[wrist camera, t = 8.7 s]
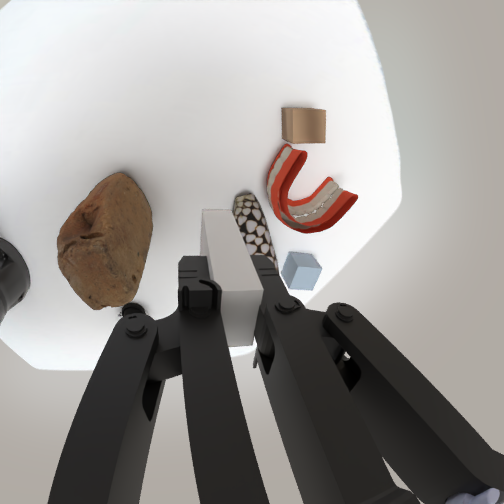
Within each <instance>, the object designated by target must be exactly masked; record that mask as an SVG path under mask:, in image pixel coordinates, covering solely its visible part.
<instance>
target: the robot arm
mask: <svg viewBox="0 0 504 504" xmlns="http://www.w3.org/2000/svg"><path fill="white" fill-rule="evenodd" d="M178 284H179V288H178V307H177V309H176V311H175V312H174V313H173V314H171V315H170V316H168V317H165V318H163V319H159V320H154V319H153V318H151V317H150V316H148V315H145V314H143V313H133V314H129V315H126V316H124V317H123V318H121V319H120V320H119V321H118V322H117V324H116V325H115V327H114V329H113V331H112V333H111V335H110V337H109V339H108V341H107V343H106V345H105V348H104V350H103V352H102V354H101V356H100V358H99V360H98V362H97V365H96V367H95V369H94V371H93V374H92V376H91V378H90V380H89V383H88V385H87V387H86V390H85V392H84V394H83V397H82V399H81V402H80V404H79V407H78V409H77V412H76V414H75V417H74V419H73V422H72V425H71V428H70V430H69V433H68V436H67V439H66V442H65V445H64V448H63V451H62V454H61V457H60V460H59V463H58V467H57V470H56V473H55V477H54V480H53V484H52V487H51V491H50V496H49V500H48V504H139V500H140V494H141V489H142V483H143V478H144V473H145V468H146V463H147V458H148V453H149V449H150V444H151V439H152V435H153V430H154V426H155V422H156V417H157V413H158V409H159V405H160V401H161V397H162V393H163V389H164V385H165V381H166V379H169V378H172V377H175V376H178V375H181V374H182V377H183V389H184V399H185V409H186V418H187V425H188V433H189V441H190V448H191V454H192V460H193V467H194V473H195V478H196V484H197V489H198V494H199V499H200V504H270V503H269V500H268V497H267V494H266V490H265V487H264V484H263V480H262V477H261V474H260V470H259V467H258V463H257V460H256V456H255V453H254V449H253V445H252V442H251V439H250V434H249V431H248V427H247V423H246V419H245V415H244V411H243V407H242V404H241V399H240V395H239V391H238V387H237V383H236V379H235V374H234V370H233V365H232V361H231V357H230V352H229V348H228V347H238V346H250V345H253V340H254V336H255V339H256V343H257V349H256V353H255V357H254V362H253V368H256V366H257V362H258V365H259V368H260V371H261V375H262V378H263V381H264V384H265V388H266V391H267V394H268V397H269V400H270V404H271V407H272V410H273V413H274V416H275V420H276V422H277V426H278V429H279V432H280V435H281V438H282V441H283V444H284V447H285V450H286V453H287V456H288V459H289V462H290V465H291V468H292V471H293V474H294V477H295V480H296V483H297V486H298V489H299V491H300V494H301V497H302V500H303V503H304V504H420V502H419V500H421V501H422V502H423V503H424V504H503V503H504V455H503V454H501V453H498V452H496V451H494V450H492V448H491V447H490V446H489V445H488V444H487V443H486V442H485V441H484V439H482V437H481V436H480V435H479V434H478V433H477V432H476V430H475V429H474V428H473V427H472V426H471V425H470V424H469V423H468V422H467V421H466V420H465V418H464V417H462V415H461V414H460V413H459V412H458V411H457V410H456V409H455V408H454V407H453V406H452V405H451V404H450V402H449V401H447V399H446V398H445V397H444V396H443V395H442V394H441V393H440V392H439V391H438V390H437V389H436V388H435V387H434V386H433V385H432V384H431V383H430V382H429V381H428V380H427V379H426V378H425V377H424V376H423V374H422V373H421V372H420V371H419V370H418V369H417V368H416V367H415V366H414V365H413V364H412V363H411V362H410V361H409V360H408V359H407V358H406V357H404V355H403V354H402V353H401V352H400V351H399V350H398V349H397V348H396V347H395V346H394V345H393V344H392V343H391V342H390V341H389V340H388V339H387V338H386V337H385V336H384V335H383V334H382V333H380V332H379V331H378V330H377V329H376V328H375V327H374V326H373V325H372V324H371V323H370V322H369V321H368V320H367V319H366V318H365V317H364V316H363V315H362V314H361V313H360V312H359V311H358V310H357V309H355V308H354V307H352V306H351V305H348V304H346V303H333V304H331V305H329V307H328V309H327V311H326V312H321V311H315V310H309V309H306V308H305V306H304V305H303V303H302V302H301V301H300V300H299V299H297V298H295V297H293V296H290V295H289V293H288V291H287V289H286V287H285V285H284V283H283V281H282V280H281V278H280V276H279V274H278V272H277V270H276V268H275V266H274V264H273V262H272V261H271V260H270V259H269V258H268V257H266V256H265V255H249V253H248V250H247V248H246V245H245V243H244V240H243V238H242V235H241V233H240V230H239V228H238V225H237V223H236V221H235V218H234V216H233V213H232V211H231V210H213V209H202V224H201V245H200V256H183V257H182V259H181V260H180V261H179V263H178ZM29 286H30V277H29V272H28V269H27V266H26V264H25V262H24V260H23V258H22V257H21V255H20V254H19V253H18V251H17V250H16V249H15V248H14V247H13V246H12V245H11V244H10V243H8V242H7V241H5V240H3V239H1V238H0V324H1V322H2V320H3V318H4V316H5V315H6V313H7V311H9V310H10V309H11V308H12V307H14V306H15V305H16V304H17V303H19V302H20V301H21V300H22V299H23V298H24V297H25V295H26V293H27V291H28V289H29ZM345 352H347V353H348V355H349V356H350V359H349V358H347V357H345V356H344V354H345ZM382 457H383V458H384V459H385V461H386V462H387V463H388V464H389V465H390V467H391V468H392V469H393V470H394V471H395V472H396V474H397V475H398V476H399V477H400V478H401V480H402V481H403V482H404V483H405V484H406V485H407V486H408V488H409V489H410V490H411V491H412V492H413V493H414V494H413V493H412V492H410V491H408V490H405V489H402V488H399V487H397V486H396V484H395V483H394V481H393V479H392V477H391V475H390V473H389V471H388V469H387V467H386V465H385V463H384V460H383V458H382ZM417 498H419V500H418V499H417Z"/></svg>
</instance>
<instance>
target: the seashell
mask: <svg viewBox="0 0 504 504" xmlns="http://www.w3.org/2000/svg"><path fill="white" fill-rule="evenodd" d="M233 216H234V218H235V221H236V223H237V225H238V228H239V230H240V233H241V235H242V238H243V240H244V243H245V245H246V248H247V250H248V253H249V255H265V256H266V257H268V258H269V259H270V260H271V261H272V262H273V264H274V266H275V268H276V270H277V272H278V274H279V269H278V263H277V259H276V255H275V251H274V248H273V245H272V241H271V238H270V234H269V230H268V226H267V223H266V220H265V217H264V214H263V211H262V209H261V206H260V204H259V202H258V201H257V199H256V197H255V196H254V195H252V194H246V195H243V196H238V197H237V198H236V199H235V205H234V212H233Z"/></svg>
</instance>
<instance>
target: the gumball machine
mask: <svg viewBox="0 0 504 504" xmlns="http://www.w3.org/2000/svg"><path fill="white" fill-rule="evenodd" d="M120 313H121V314H122V316H123V317H124V316H126V315H129V314H133V313H143V314H145V311H144V309H143V308H142V307H141V306H139V305H137V304H127V305H125V306H124V307H123V308H122V312H120ZM118 316H121V315H120V314H119V315H118Z"/></svg>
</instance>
